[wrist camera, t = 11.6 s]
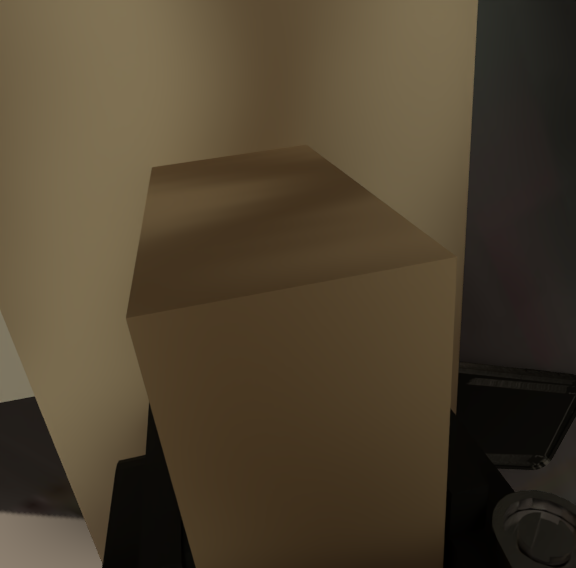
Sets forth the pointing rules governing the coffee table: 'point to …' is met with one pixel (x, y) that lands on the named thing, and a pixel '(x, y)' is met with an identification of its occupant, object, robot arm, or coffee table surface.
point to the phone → (515, 412)
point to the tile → (11, 369)
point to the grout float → (244, 260)
